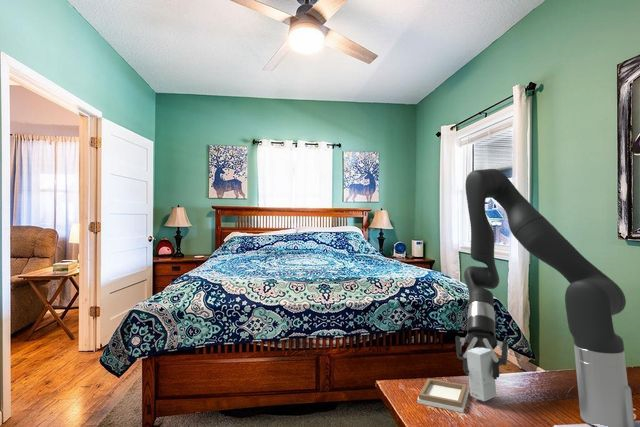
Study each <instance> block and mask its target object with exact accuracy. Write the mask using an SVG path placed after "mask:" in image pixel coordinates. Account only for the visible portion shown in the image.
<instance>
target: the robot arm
mask: <svg viewBox="0 0 640 427" xmlns="http://www.w3.org/2000/svg"><path fill="white" fill-rule="evenodd" d="M465 194H466V203H467V209H468V216H469V217H468V218H469V223H470V258H471V259H472V260H474V261H476V262H479V263H482V264H485V265H486V266H477V265H476V266H474V265H469V266H467V267H466V268H465V271H464V274H463V277H464V282H465V285H466V288H467V291H468V310H467V322H466V323H467V325H466V326H467V328H466V330H467V331H466V332H467V333H466V336H465V337H460V336H459V335H455V338H454V339H455V348H456V349H455V352H456V356H457V358H458V359H459V360H462V370H463V372H464V373H465V375H466V376H469V373H468V362H467V351H468V350H471V349H473V348H477V347H481V348H486V349H490V350H492V352H491V354H492V355H491V357H492V359H493V378H494V379H495V381H496V380H497V379H499V377H500V366H506V365H508V356H509V355H508V354H509V345H508V344H509V343H508V341H507V340H503V341H500V340H497V338H496V314H495V309H494V308H495V307H494V306H495V305H494V302H495V301H494V294H493V293H492V291H490V290H494V289H496V288H497V287H498V286H499V284H500V276H499V273H498V268H497V265H496V261H495V242H496V241H495V239H496V238H495V233H494V229H493V227H492V225H491V223H490V221H489V219H488V216H487V213H486V199H489V198H491V199H493V200H494V201H496V202H497V203H498V205H499V206H501V207H502V209H503V211H504V212H505V214H506V216H507V223H508V227H509V230H510V232H511V234H512V236H513V237H514V238H515V239H516V240H517V241H518V243H520V245H521V246H522V247H523V248H524V249H525V251H527V252H528V253H530V254H531V255H533V256H534V257H535V258H537V259H539V260H540V261H541V262H543V263H545V264H546V265H548V266H549V267H551V268H552V269H554V270H555V271H557V272H558V273H559V274H560V275H561V276H562V277H564V278H565V279H566V280H567V281H568V283H569V285H568V286H567V287H566V290H565V293H564V305H565V306H564V307H565V312H566V318H567V325H568V329H569V333H570V335H571V336H572V338H573V345H574V346H573V347H574V348H573V349H574V359H575V370H576V381H577V382H576V383H577V391H578V392H577V393H578V402H579V411H580V412H579V413H580V418H581V420H583V422H585V423H586V424H588V423H591V424H600V425H604V426H608V427H635V426H636V425H635V417H634V416H635V415H634V407H633V405H634V404H633V396H632V389H631V387H630V386H629V382H628V375H627V364H626V356H625V354H626V353H625V344H624V340H623V338H622V337H621V336H620V335H618V334H616V332H615V328H614V322H613V316H615V315H618V314H620V313H621V312H622V311H624V309H625V308H626V303H627V301H626V300H627V299H626V296H625V294H624V291H623V289H622V288H621V287H620V286H619V285H618V284H617V283H616V282H615V281H614V280H613V279H611V278H610V277H609V276H608V275H606V274H605V273H604V272H602V270H600V269H599V268H597V266H595V265H594V264H592V262H590V261H589V260H588V259H587V258H586V257H585V256H584V255H582V253H580V252H579V251H578V250H577V248H575V247H574V245H573V244H571V242H570V241H568V239H567V238H565V237H564V236H563V234H561V233H560V232H559V230H558V229H557V228H556V227H555V226H554V225H553V224H552V223H551V222H550V221H549V220H548V219H547V218H546V217H545V216H544V215H542V214H541V213H540V212H539V211H538V210H537V209H536V208H535V207H534V206H533V204H531V203H530V202H529V200H527V199H526V198H525V197H524V196H523V195H522V193H521V192H519V190H518V189H517V187H516V186H515V185H514V184H513V183H512V181H511V180H510V179H509V177H508V176H506V174H505V173H504V172H503V171H502V170H500V169H497V168H486V169H476V170H472V171H470V172H469V173H468V175H467V176H466V179H465ZM465 343H466V345H468V346H467V348H466V349H465V352H464V353H463V350H462V347H463V346H464V345H465ZM497 347H499V350H500V351H501V355H500V357H499V358H498V356H497V354H496V353H495V351H494V350H495V348H497Z"/></svg>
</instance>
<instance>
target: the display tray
mask: <svg viewBox="0 0 640 427" xmlns="http://www.w3.org/2000/svg"><path fill="white" fill-rule="evenodd" d="M469 393H470V388H467V384H464V383H460V382H459V383H457V382H452V381H451V382H450V381H446V380H441V379H436V378H435V379H434V378H429V377H428V378H427V379H426V381H425V383H424V385H423V386H422V389H421V390H420V391H419V393H418V396H417V404H420V405H426V406H429V407H435V408H439V409H445V410H449V411H454V412H457V413H458V412H459V413H462V414H463V413H464V411H465V407H466V404H467V402H468V398H469V395H470V394H469Z"/></svg>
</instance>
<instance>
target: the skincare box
mask: <svg viewBox="0 0 640 427" xmlns="http://www.w3.org/2000/svg"><path fill="white" fill-rule="evenodd" d="M491 352H492V350H490V349H486V348H481V347H477V348H473V349H471V350H468V351H467V362H468V373H469V375H468V382H469V383H468V384H469V393H470V394H469V395H470V397H472V398H474V399H476V400H479V401H481V402H486V401H488V400H491V399H492V398H495V397H496V396H497V387H496V386H497V385H496V379H494V378H493V359H492V357H491V355H492V354H491Z"/></svg>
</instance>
